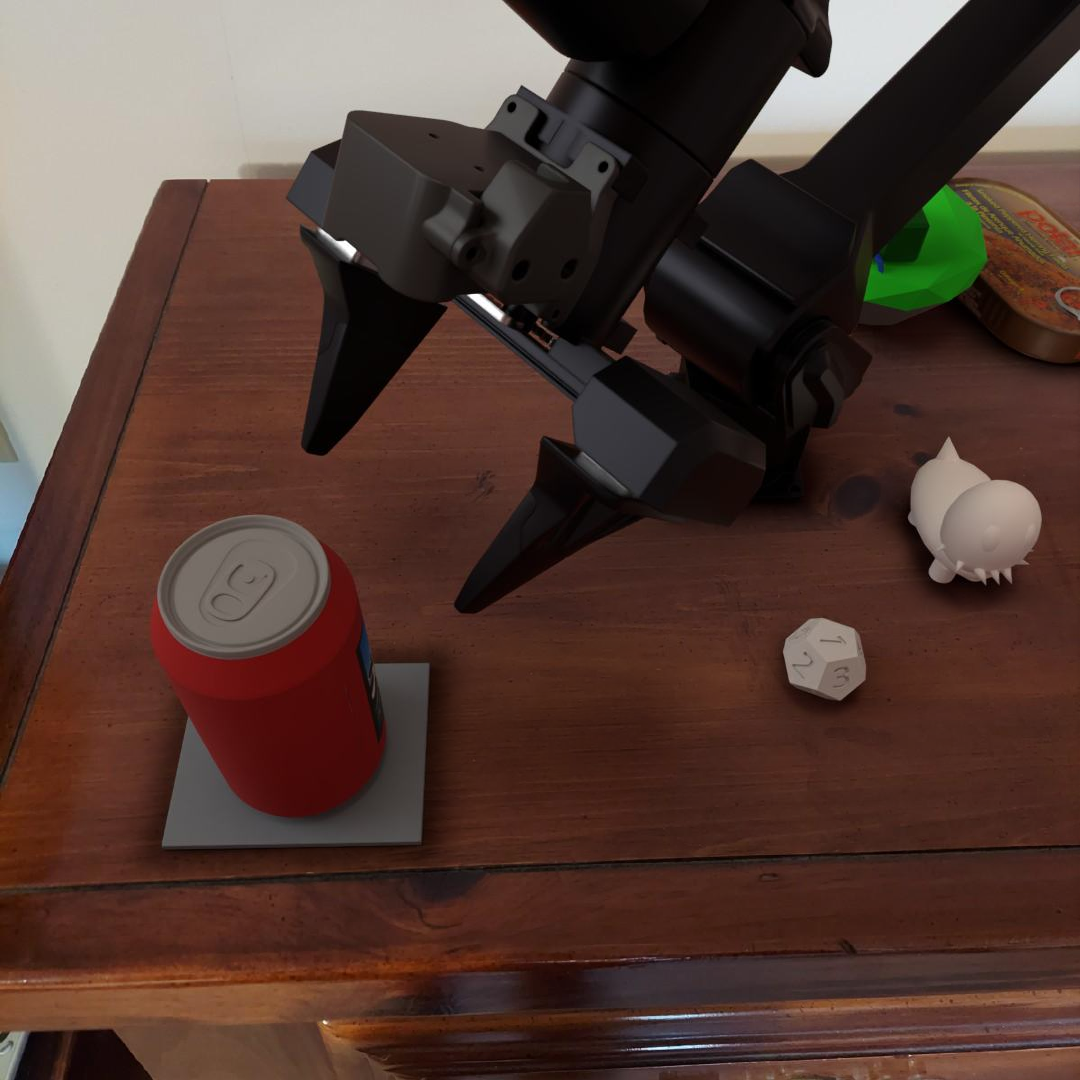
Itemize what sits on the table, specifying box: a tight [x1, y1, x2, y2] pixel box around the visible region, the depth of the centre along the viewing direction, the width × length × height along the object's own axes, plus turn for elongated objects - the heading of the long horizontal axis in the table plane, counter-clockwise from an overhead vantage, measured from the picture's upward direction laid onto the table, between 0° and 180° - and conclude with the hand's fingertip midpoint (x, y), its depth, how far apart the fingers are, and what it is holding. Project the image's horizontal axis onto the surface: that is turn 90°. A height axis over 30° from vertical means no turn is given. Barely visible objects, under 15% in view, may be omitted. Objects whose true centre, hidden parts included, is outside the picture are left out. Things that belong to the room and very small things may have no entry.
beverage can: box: [149, 514, 386, 817], centre depth 37 cm, size 7×7×12 cm
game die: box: [782, 617, 867, 701], centre depth 43 cm, size 4×4×3 cm
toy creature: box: [907, 436, 1043, 586], centre depth 46 cm, size 5×8×6 cm, turn 4°
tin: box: [946, 176, 1080, 364], centre depth 60 cm, size 15×3×8 cm
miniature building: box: [858, 185, 987, 326], centre depth 55 cm, size 12×12×11 cm
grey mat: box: [161, 662, 431, 851], centre depth 42 cm, size 10×8×1 cm
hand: (383, 527), depth 35 cm, fingers open, 9 cm apart
